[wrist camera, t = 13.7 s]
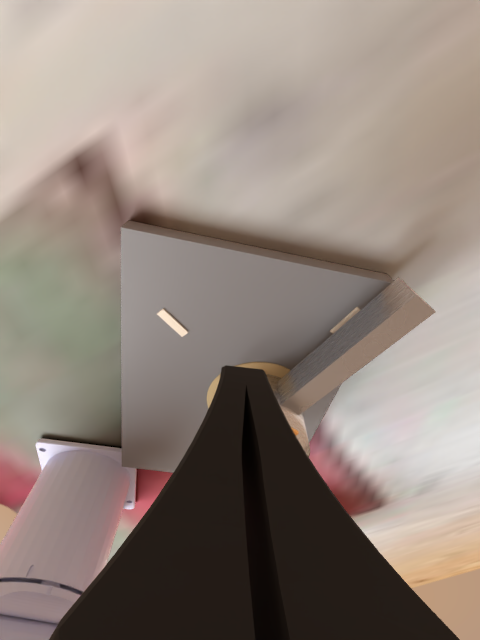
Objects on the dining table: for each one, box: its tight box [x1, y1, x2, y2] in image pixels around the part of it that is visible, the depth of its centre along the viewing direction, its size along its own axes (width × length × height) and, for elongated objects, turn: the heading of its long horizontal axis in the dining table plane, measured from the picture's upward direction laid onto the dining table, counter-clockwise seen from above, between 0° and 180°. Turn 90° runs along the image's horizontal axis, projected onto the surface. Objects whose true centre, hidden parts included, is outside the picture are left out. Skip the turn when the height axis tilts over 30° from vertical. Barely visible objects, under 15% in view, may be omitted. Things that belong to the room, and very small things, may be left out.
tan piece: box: [266, 277, 435, 457], centre depth 17 cm, size 14×6×4 cm, turn 142°
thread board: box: [121, 221, 393, 473], centre depth 21 cm, size 20×14×1 cm
